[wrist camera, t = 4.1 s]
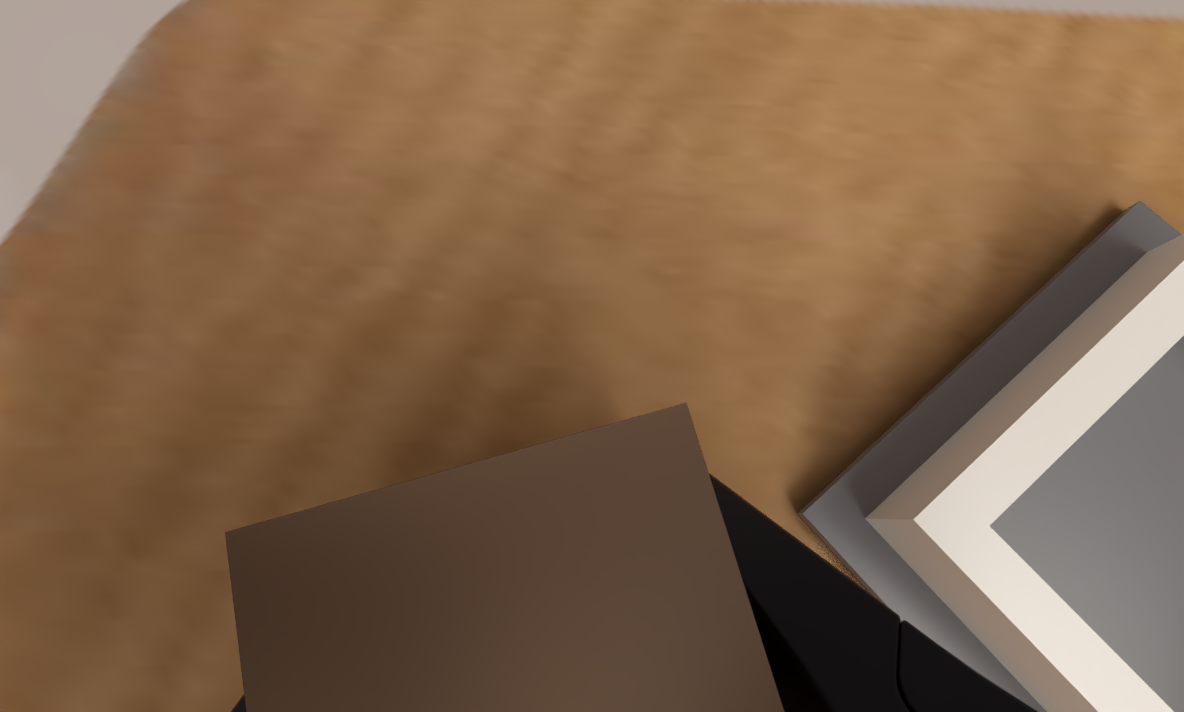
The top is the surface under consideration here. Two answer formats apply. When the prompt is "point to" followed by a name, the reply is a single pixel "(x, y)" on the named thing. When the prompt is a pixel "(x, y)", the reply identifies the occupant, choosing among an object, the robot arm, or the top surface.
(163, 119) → the top surface
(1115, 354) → the socket collar
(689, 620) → the walnut post
